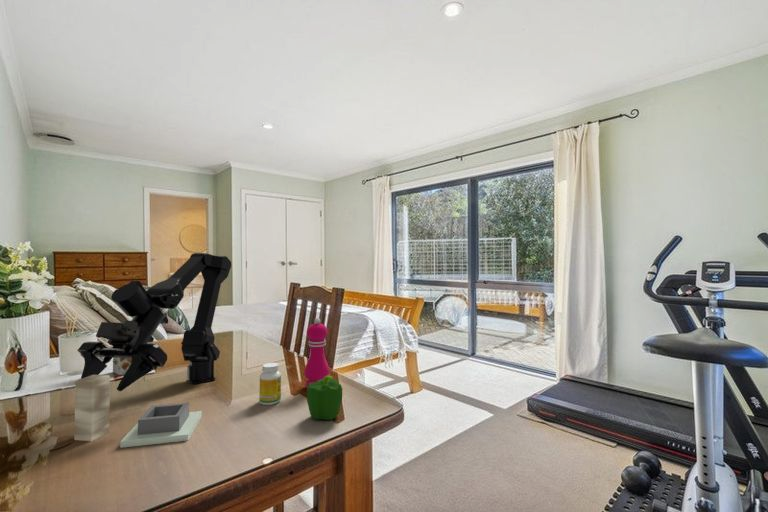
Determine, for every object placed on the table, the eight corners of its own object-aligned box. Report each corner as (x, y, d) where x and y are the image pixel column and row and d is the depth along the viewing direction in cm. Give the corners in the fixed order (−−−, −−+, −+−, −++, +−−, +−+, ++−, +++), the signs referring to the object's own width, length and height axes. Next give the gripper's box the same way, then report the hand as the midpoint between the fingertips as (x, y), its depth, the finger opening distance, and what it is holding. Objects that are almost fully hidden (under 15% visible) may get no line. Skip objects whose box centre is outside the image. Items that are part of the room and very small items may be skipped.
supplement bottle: (259, 399, 96) (259, 362, 96) (280, 396, 98) (280, 361, 98) (259, 406, 91) (259, 368, 91) (281, 404, 93) (281, 366, 93)
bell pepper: (303, 412, 88) (303, 371, 88) (336, 407, 91) (336, 367, 91) (310, 427, 80) (311, 381, 80) (346, 421, 83) (346, 377, 83)
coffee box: (119, 375, 115) (120, 325, 115) (112, 372, 119) (113, 323, 119) (151, 369, 123) (152, 321, 123) (143, 365, 126) (144, 319, 127)
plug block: (92, 430, 78) (93, 374, 78) (109, 432, 77) (110, 375, 78) (74, 439, 74) (75, 380, 74) (91, 441, 73) (92, 381, 74)
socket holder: (144, 421, 82) (144, 402, 83) (201, 416, 85) (202, 398, 86) (120, 447, 71) (120, 426, 71) (188, 440, 74) (188, 419, 74)
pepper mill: (305, 383, 109) (306, 316, 109) (330, 382, 110) (330, 316, 110) (302, 391, 102) (303, 320, 102) (328, 390, 103) (329, 320, 103)
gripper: (86, 306, 84) (33, 368, 73) (159, 308, 82) (115, 372, 71) (115, 334, 92) (70, 393, 81) (182, 336, 89) (146, 398, 78)
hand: (99, 389), depth 77 cm, fingers open, 9 cm apart
